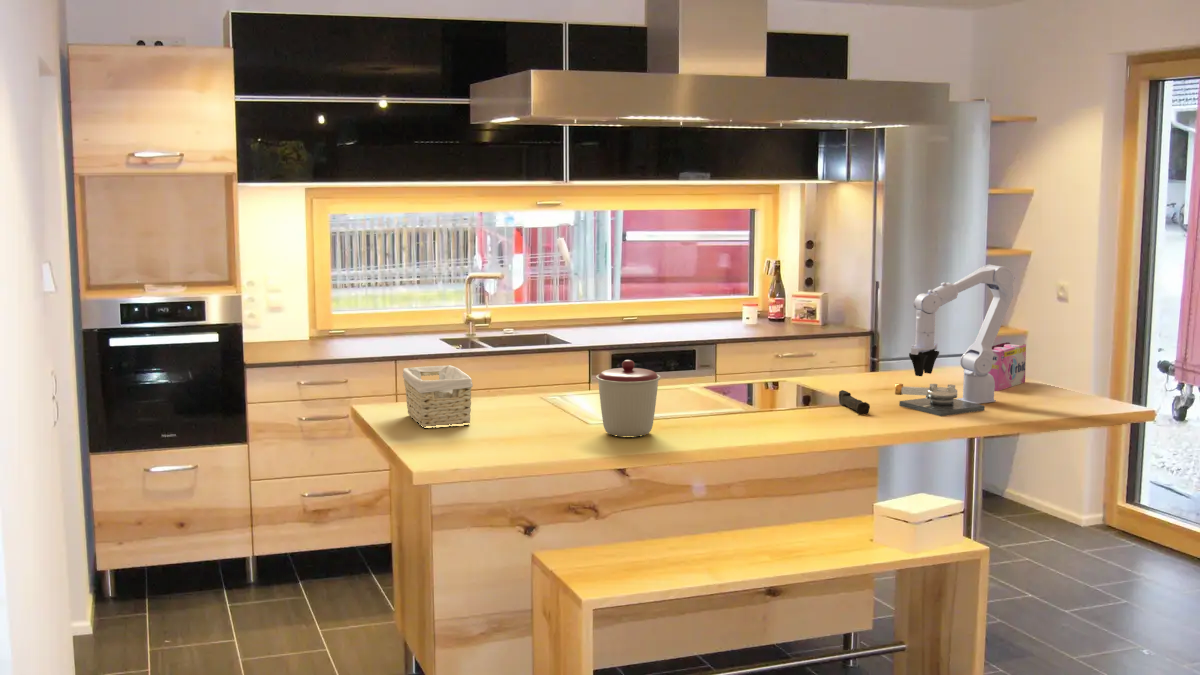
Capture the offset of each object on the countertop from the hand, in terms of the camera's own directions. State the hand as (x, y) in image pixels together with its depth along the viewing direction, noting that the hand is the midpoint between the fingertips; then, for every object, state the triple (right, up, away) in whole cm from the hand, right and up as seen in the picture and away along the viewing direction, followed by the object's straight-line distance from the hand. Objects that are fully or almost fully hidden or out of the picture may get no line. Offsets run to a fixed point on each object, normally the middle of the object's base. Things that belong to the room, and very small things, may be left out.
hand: (923, 374), depth 370 cm
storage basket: (-150, -13, -24) cm, 153 cm away
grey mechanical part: (-1, -7, -5) cm, 9 cm away
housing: (+4, -10, -6) cm, 12 cm away
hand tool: (-25, -11, -6) cm, 27 cm away
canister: (-94, -16, -41) cm, 104 cm away
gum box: (+36, -5, +34) cm, 50 cm away
